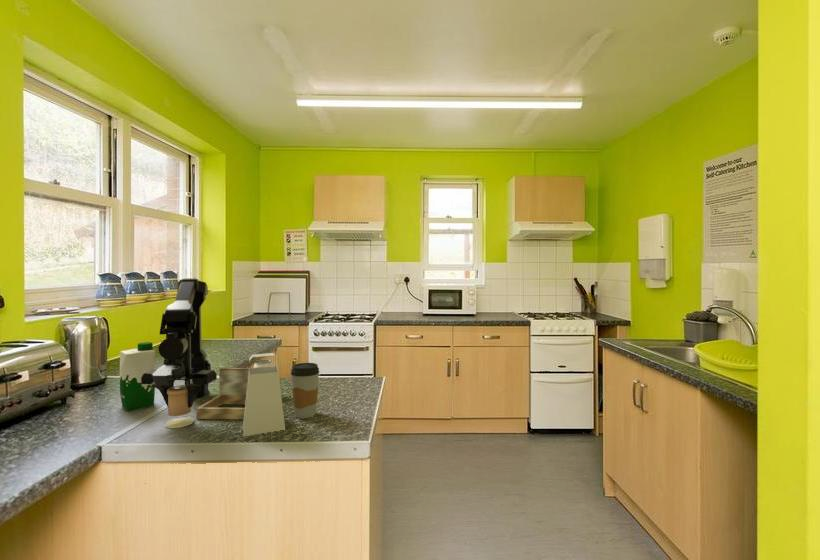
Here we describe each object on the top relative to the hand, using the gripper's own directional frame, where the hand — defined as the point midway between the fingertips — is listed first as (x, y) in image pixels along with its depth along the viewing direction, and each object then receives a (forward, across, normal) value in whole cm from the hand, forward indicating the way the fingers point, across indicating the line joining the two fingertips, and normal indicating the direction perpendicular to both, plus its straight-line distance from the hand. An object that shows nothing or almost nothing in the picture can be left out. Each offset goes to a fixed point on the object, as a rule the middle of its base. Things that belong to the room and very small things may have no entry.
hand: (179, 407), depth 112 cm
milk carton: (+5, -22, +14) cm, 27 cm away
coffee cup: (+5, +34, +8) cm, 35 cm away
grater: (+5, +24, -1) cm, 25 cm away
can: (+5, +14, +26) cm, 30 cm away
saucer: (+5, 0, 0) cm, 5 cm away
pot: (+2, 0, 0) cm, 2 cm away
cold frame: (+5, +10, +11) cm, 16 cm away
